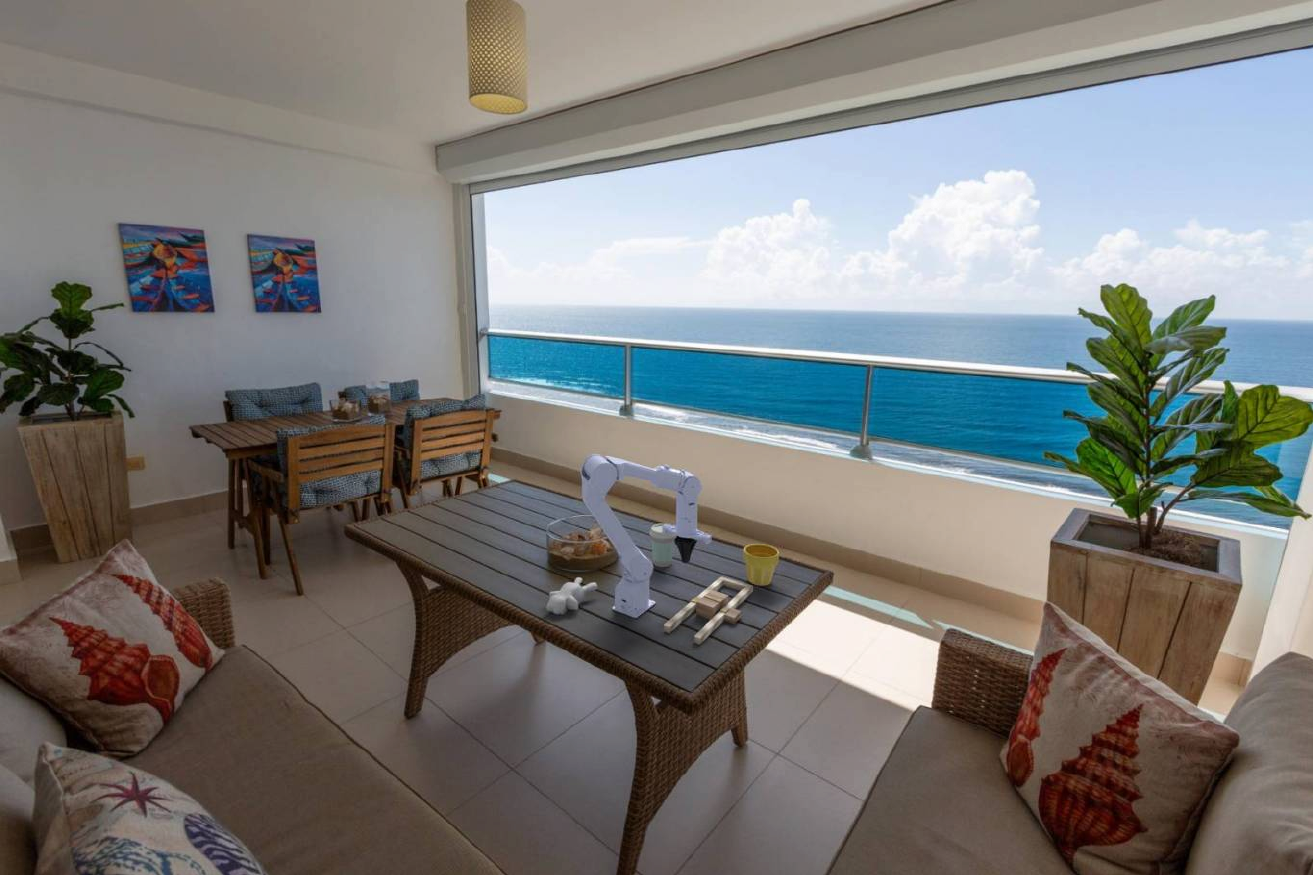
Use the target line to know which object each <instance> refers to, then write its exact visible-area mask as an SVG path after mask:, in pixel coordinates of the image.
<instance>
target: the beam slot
mask: <svg viewBox="0 0 1313 875" xmlns="http://www.w3.org/2000/svg"><path fill="white" fill-rule="evenodd" d="M722 587H727V588H731V589H734V590H736V591H739V592H738V593H737V594H736V595H735V596H734V597H733V598H731V600H730V601H728V604H727V605H726V606H724V607H723V608H722V609H721V610H720V612H719V613H718V614H716V615H715V616H714V617H713V618H712V619H711V620H709V621H708V622H707V623H705V625H704V626H703V627H702V628H701V629H700V630H698V632H697V633H696V634H694V636H693V643H694V644H696V645H701V644H702V643H703V642H704V641H705V640H706V639H707V638H708V637H709V636H711V634H712V633H713V632H714V631H715V630H716V629H717V628H718V627H719V626H720V625H721V624H722V623H723V622H727V623H730V624H733V625H735V624H736V623H737V622H738V621H739V620H741V618H742V610H738V609H737V608H738V607H740V605H741V604H742V603H744V601H745V600H746V599H747V598H748V597H749V596H750V595H752V593H753V592H754V586H753V584H752V585H751V584H748V583H745V582H742V581H739V580H735V579H732V578H729V577H725V576H720V577H718V578H717V579H716V580H715V581H714V582H713V583H712V584H710V585H709V586H707V588H705V589H704V590H703V591H702V592H701V593H700V594H698V595H697V596H695V597H694V598H692V600H691V601H690V602H689V603H688V604H687V605H685V606H684V607H683V608H682V609H680V611H678V612H677V613H676V614H675V615H673V617H671V618H670V619H669V620H668V621H667V622H666V623H664V624H663V632H665V633H667V634H670V633H672V632H673V630H675V629H676V628H677V627H679V625H681V624H682V623H683V621H685V620H686V619H687V618H689V616H691V615H692V614H693V613H694V612H696V610H697V601H698V600H700V599H701V598H702V597H704V595H705V594H708V593H709V592H710V591H711V590H714V591H717V592H719V590H720V589H721V588H722Z"/></svg>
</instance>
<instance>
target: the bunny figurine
mask: <svg viewBox="0 0 1313 875" xmlns="http://www.w3.org/2000/svg"><path fill="white" fill-rule="evenodd" d="M582 582H583V577H576V578H575V579H574V581H573V582H569V581H567V582H566V583H564V584H563V585H562V586H561V588H560V590H555V591H553V590H552V591H550V592H549V593H548V598H549V599H548V602H547V604H546V605H545V608H546V611H548V612H550V613H553V614H555V615H557V616H558V615H565V614H566V613H567V611H568V610H574V611H577V610H578V609H579V605H580V604H581V603H582V602H583V600H584V598H585V595H586V593H588V592H589V593H590V592H591V591H592V592H593V591H595V590H597V589H598V588H599V587H598V585H597V583H596V582H589V583H587V584H586V585H584V586H583V585H582V586H581V583H582Z"/></svg>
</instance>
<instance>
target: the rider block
mask: <svg viewBox="0 0 1313 875" xmlns="http://www.w3.org/2000/svg"><path fill="white" fill-rule="evenodd" d="M728 603H729V594H725V593H722V592H719V591H714V590H711V591H710V592H709V593H708V594H705V595H704V597H702V598H701V599H700V600H698V601H697V609H696V610H695V612H696V613H695V614H696V616H699V617H701V618H704V619H707V620H709V621H710V620H711V619H712V618H713V617H714V616H715V615H716V614H718V613H719V612H720V610H721V609H722V608H723V607H724V606H726V605H727V604H728Z"/></svg>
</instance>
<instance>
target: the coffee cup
mask: <svg viewBox="0 0 1313 875" xmlns="http://www.w3.org/2000/svg"><path fill="white" fill-rule="evenodd" d="M665 524H666V523H656V524H654V525H652V526H651V527H650V528H651V529H650V530H649V535H650V542H651V543H650V544H651V553H652V561H653V562H652V564H653V566H656V567H658V568H668V567H670V566H671V565H672V563H673V557H674V549H675V545H676V544H675V542H674V539H675V538H676V535H674V534H670V533H662V526H664V525H665ZM667 524H668V525H671V524H669V523H667Z"/></svg>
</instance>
